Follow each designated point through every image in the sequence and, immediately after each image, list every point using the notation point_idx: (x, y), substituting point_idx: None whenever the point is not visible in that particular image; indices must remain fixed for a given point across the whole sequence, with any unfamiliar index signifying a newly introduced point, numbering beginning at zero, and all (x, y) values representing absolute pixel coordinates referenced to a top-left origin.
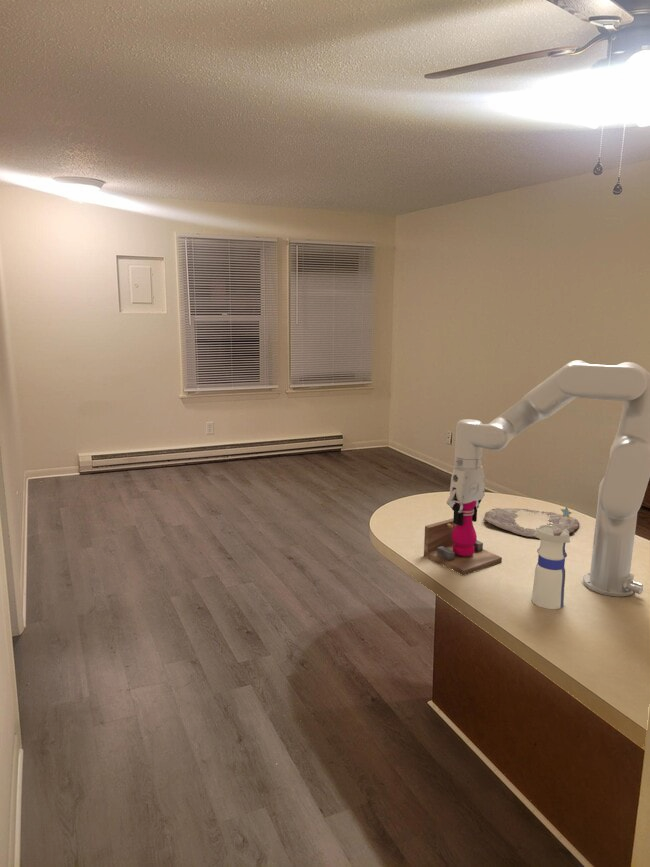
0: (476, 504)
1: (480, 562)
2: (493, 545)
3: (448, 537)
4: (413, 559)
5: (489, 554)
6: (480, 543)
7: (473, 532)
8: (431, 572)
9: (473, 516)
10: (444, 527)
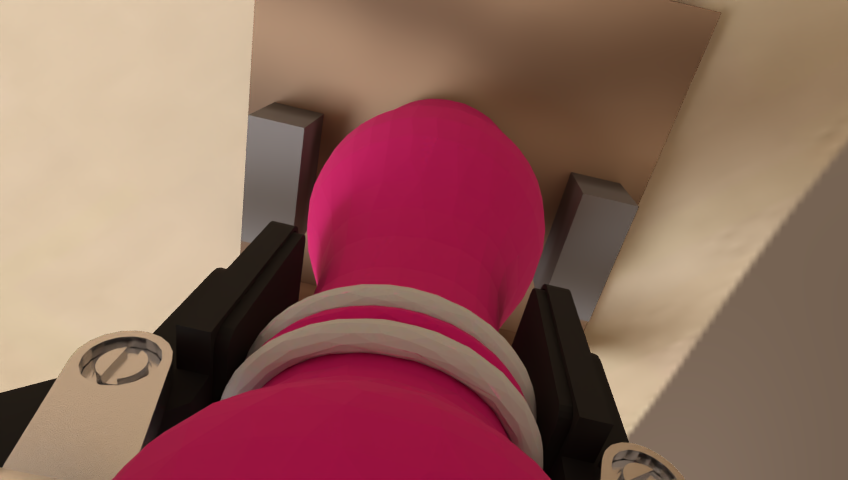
0: (127, 410)
1: None
2: (89, 122)
3: None
4: (647, 367)
5: (292, 21)
6: (276, 123)
7: (413, 155)
8: (772, 207)
9: (280, 287)
10: None
